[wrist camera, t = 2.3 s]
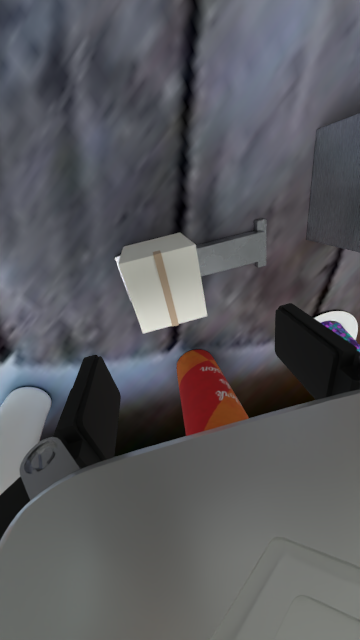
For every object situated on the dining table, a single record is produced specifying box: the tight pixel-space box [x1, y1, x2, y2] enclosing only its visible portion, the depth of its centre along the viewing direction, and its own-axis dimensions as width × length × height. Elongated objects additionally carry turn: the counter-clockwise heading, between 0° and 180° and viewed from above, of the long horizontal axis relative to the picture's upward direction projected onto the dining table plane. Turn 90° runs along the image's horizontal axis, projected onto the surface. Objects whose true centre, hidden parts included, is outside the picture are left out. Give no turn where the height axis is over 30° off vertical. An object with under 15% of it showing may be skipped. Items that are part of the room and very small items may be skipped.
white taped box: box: [118, 232, 207, 333], centre depth 21 cm, size 6×6×7 cm
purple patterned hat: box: [314, 311, 360, 352], centre depth 32 cm, size 12×12×5 cm
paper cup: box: [177, 349, 249, 436], centre depth 26 cm, size 8×8×14 cm
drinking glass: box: [0, 387, 51, 495], centre depth 23 cm, size 7×7×15 cm
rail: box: [115, 218, 266, 301], centre depth 23 cm, size 5×16×2 cm, turn 102°
